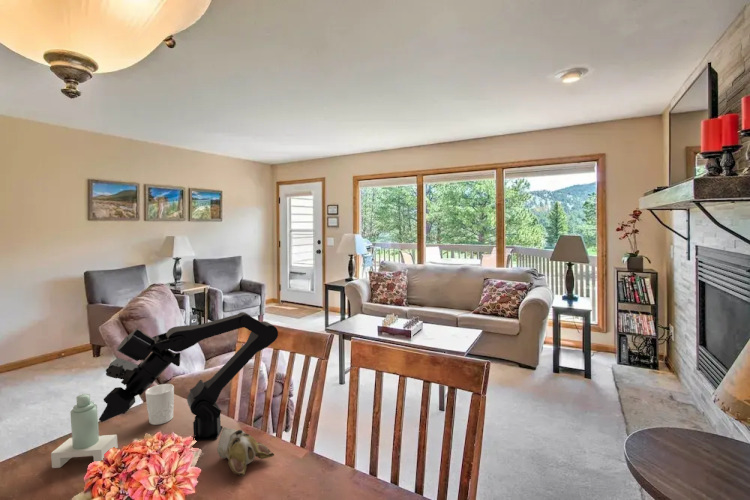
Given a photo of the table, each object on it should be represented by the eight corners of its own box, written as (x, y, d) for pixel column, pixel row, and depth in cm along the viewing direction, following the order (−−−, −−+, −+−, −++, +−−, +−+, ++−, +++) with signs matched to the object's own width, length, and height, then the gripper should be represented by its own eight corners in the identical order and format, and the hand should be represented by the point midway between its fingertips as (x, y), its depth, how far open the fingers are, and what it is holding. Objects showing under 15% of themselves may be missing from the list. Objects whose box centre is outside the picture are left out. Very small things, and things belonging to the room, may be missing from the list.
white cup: (166, 426, 115) (164, 394, 115) (141, 426, 115) (139, 394, 115) (180, 413, 123) (178, 383, 123) (156, 413, 123) (155, 383, 123)
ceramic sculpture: (240, 413, 105) (276, 432, 97) (240, 441, 106) (276, 463, 98) (205, 430, 96) (240, 453, 88) (205, 462, 97) (241, 487, 89)
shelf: (117, 448, 104) (116, 434, 104) (102, 464, 97) (101, 449, 97) (71, 451, 103) (70, 437, 102) (52, 468, 96) (50, 453, 95)
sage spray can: (103, 436, 103) (101, 390, 102) (90, 448, 97) (87, 400, 96) (81, 437, 102) (79, 391, 101) (67, 450, 97) (64, 401, 96)
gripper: (141, 339, 109) (101, 379, 108) (110, 361, 91) (61, 411, 90) (172, 362, 112) (133, 402, 110) (147, 389, 93) (101, 438, 92)
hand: (109, 411), depth 100 cm, fingers open, 9 cm apart
